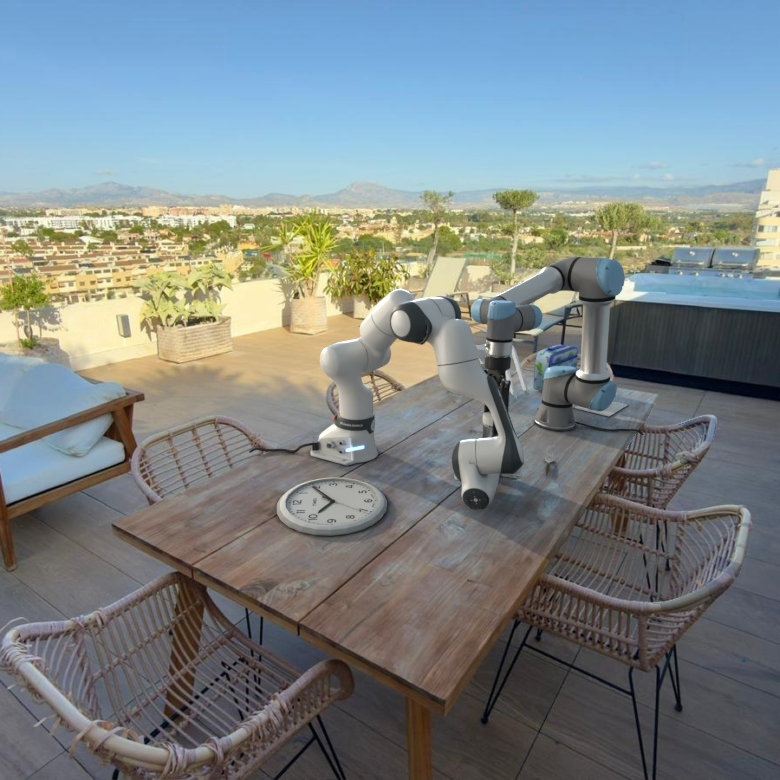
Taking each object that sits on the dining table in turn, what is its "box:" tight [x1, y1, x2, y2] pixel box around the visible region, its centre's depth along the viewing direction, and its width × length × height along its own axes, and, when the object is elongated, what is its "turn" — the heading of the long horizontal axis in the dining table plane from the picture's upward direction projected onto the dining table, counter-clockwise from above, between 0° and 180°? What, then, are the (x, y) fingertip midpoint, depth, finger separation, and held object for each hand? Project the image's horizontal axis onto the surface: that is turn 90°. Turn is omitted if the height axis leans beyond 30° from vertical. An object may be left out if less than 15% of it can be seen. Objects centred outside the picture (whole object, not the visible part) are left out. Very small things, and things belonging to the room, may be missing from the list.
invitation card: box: [573, 400, 629, 418], centre depth 226 cm, size 21×1×15 cm
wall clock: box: [276, 476, 388, 537], centre depth 142 cm, size 30×2×30 cm
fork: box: [544, 451, 555, 476], centre depth 168 cm, size 3×16×2 cm, turn 160°
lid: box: [482, 412, 493, 426], centre depth 157 cm, size 6×6×2 cm
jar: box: [481, 423, 498, 438], centre depth 160 cm, size 5×5×19 cm
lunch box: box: [533, 344, 579, 392], centre depth 247 cm, size 26×11×21 cm, turn 134°
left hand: (490, 454), depth 162 cm, fingers closed on jar, 5 cm apart
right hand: (492, 429), depth 158 cm, fingers closed on lid, 6 cm apart
